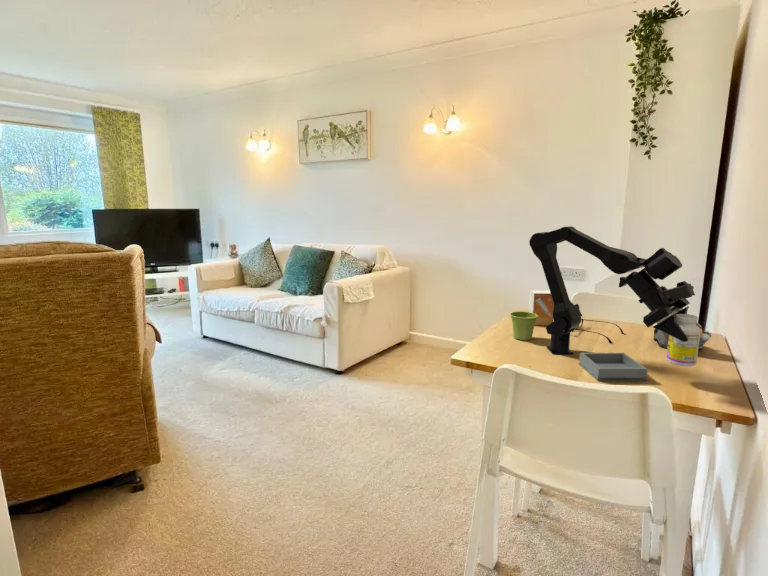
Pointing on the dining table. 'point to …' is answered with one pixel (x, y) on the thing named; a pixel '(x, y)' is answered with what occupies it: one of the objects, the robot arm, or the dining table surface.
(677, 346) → the supplement bottle
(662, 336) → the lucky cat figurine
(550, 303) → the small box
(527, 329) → the plant pot
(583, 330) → the eyeglasses
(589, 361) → the tray
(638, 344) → the dining table surface
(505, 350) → the dining table surface
